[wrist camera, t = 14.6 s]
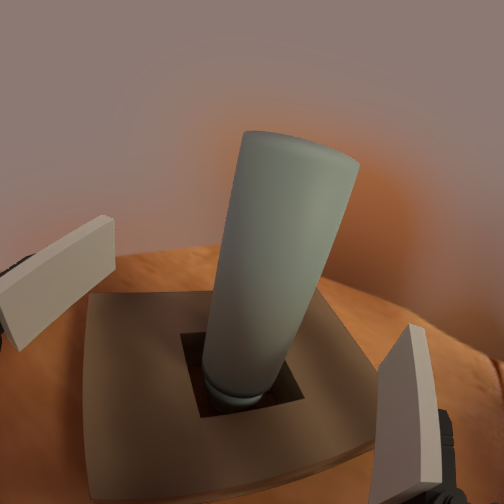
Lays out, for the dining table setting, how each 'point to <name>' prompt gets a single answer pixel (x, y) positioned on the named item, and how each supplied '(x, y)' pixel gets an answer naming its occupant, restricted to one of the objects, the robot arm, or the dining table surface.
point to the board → (218, 427)
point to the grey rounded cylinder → (270, 260)
